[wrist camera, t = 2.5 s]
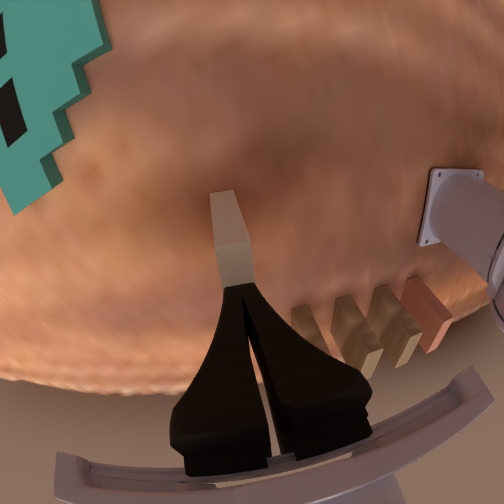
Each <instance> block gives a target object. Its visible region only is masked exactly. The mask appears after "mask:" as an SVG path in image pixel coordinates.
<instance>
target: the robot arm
mask: <svg viewBox="0 0 504 504" xmlns="http://www.w3.org/2000/svg"><path fill="white" fill-rule="evenodd" d="M438 173H439V174H438ZM483 177H484V172H483V171H482V170H479V169H452V168H434V169H432V171H431V173H430V181H429V188H428V194H427V200H426V206H425V211H424V217H423V221H422V226H421V231H420V235H419V240H418V244H419V245H420V246H421V247H422V246H427V245H431V244H435V243H439V242H442V243H444V244H445V245H446V246H447V247H448V248H449V249H451V250H452V251H453V252H454V253H455V254H456V255H458V256H459V257H460V258H461V259H462V260H463V261H464V262H465V263H467V264H468V265H469V266H470V267H471V268H472V269H473V270H474V271H475V272H476V273H477V274H478V275H480V276H481V277H482V278H483V279H484V280H485V281H486V282H487V283H488V286H487V289H486V293H487V294H488V295H489V296H490V297H491V302H490V307H491V312H492V315H493V317H494V320H495V322H496V324H497V325H498V327H499V328H500V330H501V331H502V332H503V333H504V191H502V190H500V189H498V188H497V187H495V186H493V185H491V184H490V183H488V182H486V181H484V180H483ZM223 291H224V294H223V303H222V309H221V313H220V317H219V322H218V325H217V328H216V331H215V334H214V337H213V340H212V343H211V345H210V348H209V350H208V353H207V355H206V357H205V359H204V361H203V363H202V365H201V367H200V369H199V371H198V373H197V374H196V376H195V378H194V379H193V381H192V383H191V384H190V386H189V387H188V389H187V390H186V392H185V393H184V395H183V396H182V397H181V399H180V400H179V401H178V403H177V404H176V405H175V407H174V408H173V411H172V415H171V421H170V445H171V447H172V448H173V449H175V450H176V451H177V452H179V453H180V454H181V455H182V456H184V466H185V468H147V467H129V466H118V465H109V464H101V463H94V462H89V461H88V460H86V459H84V458H82V457H80V456H77V455H73V454H68V453H63V452H59V451H58V452H57V453H56V465H55V477H54V498H55V499H58V500H61V501H64V502H67V503H70V504H406V501H405V499H404V496H403V494H402V492H401V489H400V487H399V484H398V482H397V479H396V477H395V475H394V472H396V471H398V470H400V469H402V468H404V467H406V466H408V465H409V464H411V463H413V462H415V461H417V460H418V459H420V458H422V457H423V456H425V455H427V454H428V453H430V452H431V451H433V450H434V449H436V448H437V447H439V446H440V445H442V444H443V443H445V442H446V441H448V440H449V439H450V438H452V437H453V436H455V435H456V434H458V433H459V432H460V431H462V430H463V429H464V428H465V427H467V426H468V425H469V424H470V423H471V422H473V421H474V420H475V419H477V418H478V417H479V416H480V415H481V414H482V413H483V412H485V411H486V410H487V409H488V408H489V407H490V406H491V405H492V404H494V403H495V399H494V397H493V396H492V394H491V393H490V391H489V390H488V388H487V386H486V385H485V383H484V382H483V380H482V379H481V377H480V376H479V374H478V373H477V371H476V370H475V369H474V367H473V366H472V365H471V366H470V367H468V368H467V369H465V370H464V371H462V372H461V373H459V374H458V375H457V376H456V377H454V378H453V379H452V380H451V382H450V383H449V385H448V386H447V387H445V388H444V389H442V390H440V391H439V392H437V393H435V394H434V395H432V396H430V397H429V398H427V399H425V400H423V401H421V402H420V403H418V404H416V405H414V406H412V407H410V408H408V409H406V410H404V411H402V412H400V413H399V414H396V415H394V416H392V417H390V418H388V419H386V420H384V421H381V422H379V423H377V424H375V425H373V426H370V424H369V422H368V420H367V416H368V413H367V411H366V409H365V406H366V405H367V403H368V401H369V400H370V398H371V396H372V389H371V387H370V385H369V383H368V381H367V380H366V379H365V377H364V376H363V374H362V373H361V372H360V371H359V370H358V369H356V368H354V367H351V366H349V365H347V364H345V363H343V362H341V361H339V360H337V359H335V358H333V357H332V356H330V355H328V354H327V353H325V352H323V351H322V350H320V349H319V348H317V347H316V346H314V345H313V344H311V343H310V342H308V341H307V340H306V339H305V338H303V337H302V336H301V335H299V334H298V333H297V332H296V331H295V330H294V329H292V328H291V327H290V326H289V325H288V324H287V323H286V322H285V321H284V320H283V319H282V318H281V317H280V316H279V315H278V314H277V313H276V312H275V310H274V309H273V308H272V307H271V306H270V305H269V303H268V302H267V301H266V300H265V298H264V297H263V296H262V294H261V293H260V291H259V290H258V288H257V287H256V285H255V284H254V283H253V282H251V283H245V284H240V285H234V286H229V287H225V288H224V289H223ZM248 337H249V340H250V343H251V346H252V349H253V352H254V355H255V358H256V360H257V363H258V366H259V369H260V372H261V375H262V378H263V382H264V386H265V390H266V394H267V398H268V402H269V407H270V411H271V415H272V419H273V423H274V427H275V432H276V436H277V440H278V444H279V448H280V452H281V455H278V456H274V457H272V453H271V442H270V435H269V427H268V422H267V418H266V414H265V410H264V406H263V403H262V399H261V396H260V392H259V388H258V384H257V380H256V376H255V372H254V368H253V364H252V360H251V356H250V348H249V340H248ZM354 450H355V451H354ZM352 451H353V452H352ZM349 452H352V456H351V457H350V458H345V459H341V460H338V461H335V462H331V463H328V464H325V465H322V466H319V467H316V468H312V469H309V470H305V471H301V472H297V473H293V474H289V475H285V476H280V477H275V478H270V479H265V480H260V481H255V482H250V483H246V484H242V485H236V486H230V487H223V488H217V487H216V485H214V484H204V483H216V482H217V483H218V482H227V481H236V480H243V479H250V478H256V477H262V476H267V475H272V474H277V473H282V472H286V471H290V470H294V469H298V468H302V467H306V466H309V465H313V464H316V463H320V462H323V461H326V460H329V459H332V458H335V457H338V456H341V455H344V454H346V453H349Z"/></svg>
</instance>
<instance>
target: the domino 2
mask: <svg viewBox="0 0 504 504" xmlns="http://www.w3.org/2000/svg"><path fill="white" fill-rule="evenodd" d="M331 334H332V336H333V338H334V340H335V342H336V344H337V346H338V348H339V350H340V352H341V354H342V356H343V358H344V360H345V362H346V364H347V365H349V366H351V367H354V368H356V369H358V370H359V371H360V372H361V373H362V374H363V376H364V377H365V379H366V380H367V379H369V378H370V377H371V375H372V373H373V371H374V369H375V367H376V365H377V363H378V360H379V358H380V356H381V354H382V351H383V349H384V347H383V345H382V344H381V342H380V341H379V339H378V337H377V336H376V334H375V332H374V331H373V329H372V328H371V326H370V325H369V323H368V321H367V320H366V318H365V317H364V315H363V314H362V312H361V310H360V309H359V307H358V306H357V304H356V303H355V301H354V300H353V298H352V297H351V295H349V296H345V297H341V298H337V299H336V302H335V308H334V314H333V320H332V326H331Z"/></svg>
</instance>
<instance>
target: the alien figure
mask: <svg viewBox="0 0 504 504" xmlns="http://www.w3.org/2000/svg"><path fill="white" fill-rule="evenodd" d="M110 50H112V47H111V43H110V40H109V37H108V33H107V30H106V27H105V23H104V20H103V16H102V13H101V9H100V5H99V1H98V0H0V187H1V189H2V191H3V193H4V196H5V198H6V200H7V202H8V204H9V206H10V208H11V210H12V212H13V214H14V216H15V215H16V214H17V213H19V212H20V211H21V210H23V209H24V208H25V207H27V206H28V205H30V204H31V203H32V202H34V201H35V200H37V199H38V198H39V197H41V196H42V195H44V194H45V193H47V192H48V191H50V190H51V189H53V188H54V187H55V186H57V185H58V184H59V183H61V182H62V181H63V179H62V177H61V174H60V172H59V170H58V168H57V165H56V163H55V161H54V158H53V156H52V154H51V153H53V152H54V151H56V150H57V149H59V148H60V147H62V146H63V145H65V144H66V143H68V142H69V141H71V140H73V139H74V138H75V137H74V135H73V132H72V130H71V127H70V124H69V122H68V119H67V116H66V113H65V109H67V108H68V107H70V106H71V105H73V104H74V103H76V102H78V101H79V100H81V99H82V98H84V97H86V96H87V95H89V94H91V91H90V88H89V85H88V82H87V79H86V76H85V73H84V70H83V67H82V66H83V65H85V64H86V63H88V62H90V61H91V60H93V59H95V58H97V57H98V56H100V55H102V54H104V53H106V52H108V51H110Z"/></svg>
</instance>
